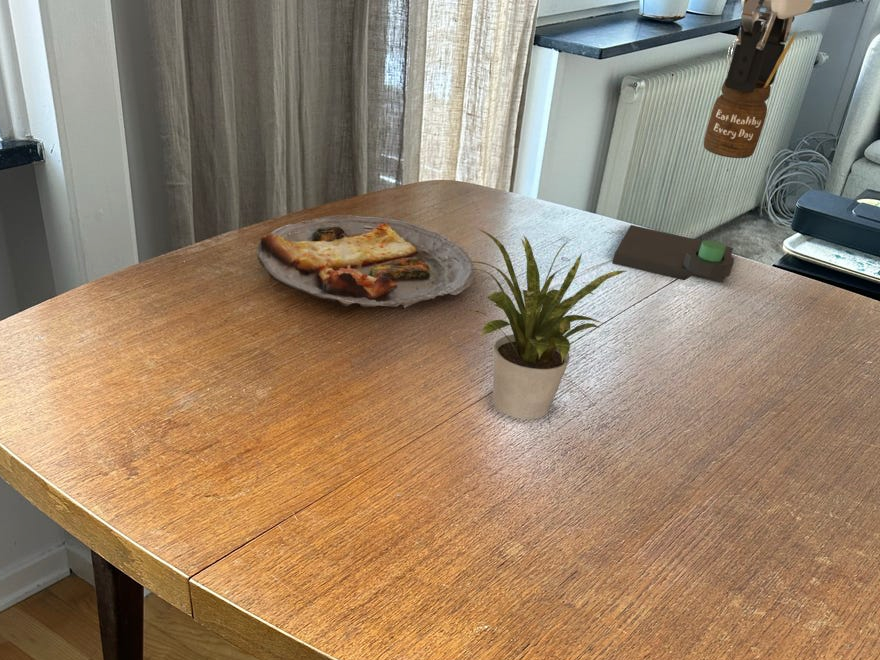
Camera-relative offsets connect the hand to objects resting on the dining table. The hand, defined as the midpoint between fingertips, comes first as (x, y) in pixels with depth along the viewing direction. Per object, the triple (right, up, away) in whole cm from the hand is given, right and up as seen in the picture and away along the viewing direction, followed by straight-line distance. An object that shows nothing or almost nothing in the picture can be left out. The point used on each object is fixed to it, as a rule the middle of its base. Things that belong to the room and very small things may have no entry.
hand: (749, 84), depth 104 cm
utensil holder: (-1, -5, +5) cm, 7 cm away
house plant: (-28, -39, -13) cm, 50 cm away
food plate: (-43, -18, +7) cm, 47 cm away
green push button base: (-3, -11, +20) cm, 23 cm away
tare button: (+1, -13, +15) cm, 20 cm away
